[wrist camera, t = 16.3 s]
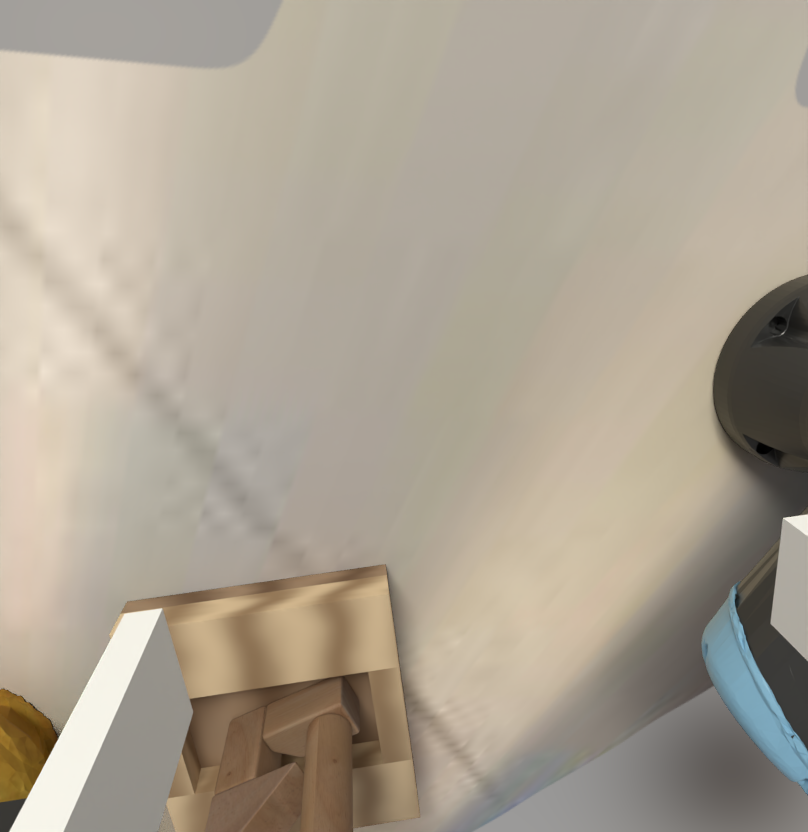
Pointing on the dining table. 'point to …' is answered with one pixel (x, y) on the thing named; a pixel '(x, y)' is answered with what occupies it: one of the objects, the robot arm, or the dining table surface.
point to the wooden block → (289, 786)
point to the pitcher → (22, 746)
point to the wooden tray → (290, 679)
